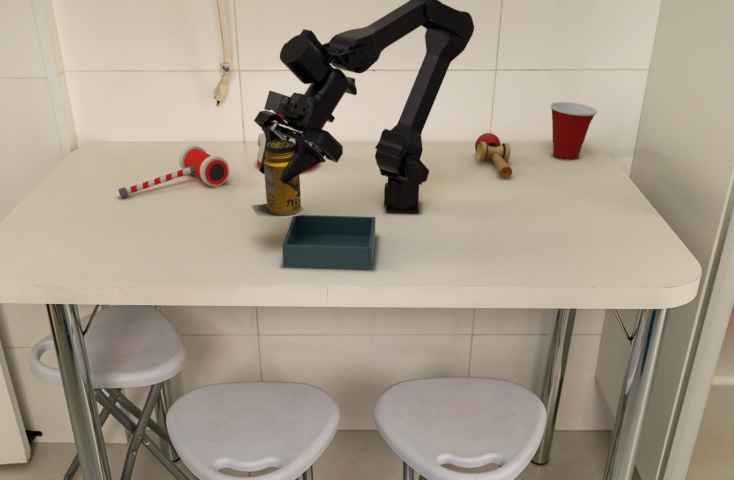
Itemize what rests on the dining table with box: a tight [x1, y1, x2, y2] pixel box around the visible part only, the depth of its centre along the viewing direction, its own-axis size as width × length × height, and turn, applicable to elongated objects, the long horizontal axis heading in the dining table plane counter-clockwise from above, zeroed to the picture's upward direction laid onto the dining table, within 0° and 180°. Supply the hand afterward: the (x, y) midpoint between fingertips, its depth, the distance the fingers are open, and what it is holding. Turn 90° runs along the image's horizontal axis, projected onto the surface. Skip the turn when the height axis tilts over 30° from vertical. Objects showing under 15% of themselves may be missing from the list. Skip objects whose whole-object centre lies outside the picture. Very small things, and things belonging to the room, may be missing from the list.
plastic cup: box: [550, 101, 598, 161], centre depth 185 cm, size 11×11×12 cm
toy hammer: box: [118, 144, 230, 199], centre depth 167 cm, size 23×12×6 cm, turn 127°
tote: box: [282, 214, 377, 271], centre depth 138 cm, size 15×14×4 cm
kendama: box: [474, 132, 513, 180], centre depth 180 cm, size 8×6×18 cm
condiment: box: [250, 140, 309, 221], centre depth 135 cm, size 7×8×12 cm
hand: (271, 177), depth 134 cm, fingers closed on condiment, 6 cm apart
